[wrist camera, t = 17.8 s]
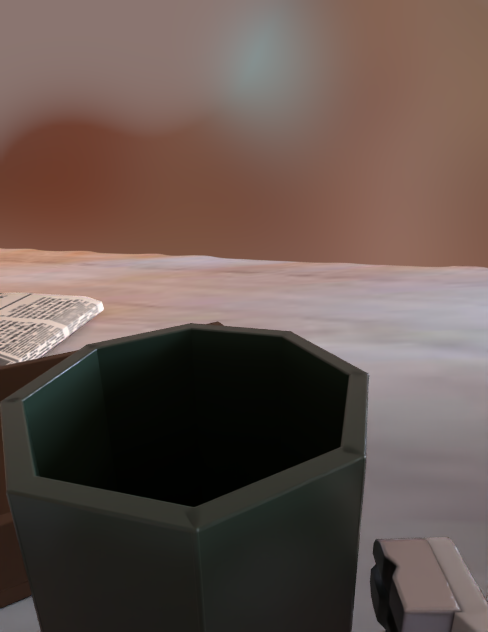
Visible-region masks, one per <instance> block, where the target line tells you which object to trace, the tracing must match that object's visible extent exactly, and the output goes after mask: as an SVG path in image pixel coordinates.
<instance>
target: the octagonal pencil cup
mask: <svg viewBox="0 0 488 632" xmlns="http://www.w3.org/2000/svg"><path fill="white" fill-rule="evenodd" d="M368 383H369V374H368V373H366V372H364V371H362V370H361V369H359V368H357V367H355V366H353V365H351V364H350V363H348V362H346V361H344V360H342V359H340V358H339V357H337V356H335V355H333V354H331V353H329V352H328V351H326V350H324V349H322V348H320V347H318V346H317V345H315V344H313V343H311V342H309V341H307V340H306V339H304V338H302V337H300V336H298V335H296V334H294V333H293V332H291V331H279V330H267V329H255V328H242V327H230V326H218V325H206V324H193V323H190V324H185V325H180V326H175V327H171V328H166V329H161V330H156V331H151V332H146V333H142V334H137V335H132V336H127V337H122V338H117V339H112V340H108V341H103V342H98V343H93V344H88V345H86V346H84V347H83V348H81V349H80V350H78V351H77V352H75V353H74V354H72V355H71V356H69V357H68V358H66V359H64V360H63V361H61V362H60V363H58V364H57V365H55V366H54V367H52V368H51V369H49V370H48V371H46V372H45V373H43V374H42V375H40V376H39V377H37V378H36V379H34V380H33V381H31V382H30V383H28V384H27V385H25V386H24V387H22V388H21V389H19V390H18V391H16V392H15V393H13V394H11V395H10V396H8V397H7V398H5V399H4V400H2V401H1V402H0V413H1V426H2V439H3V452H4V465H5V478H6V495H7V499H8V503H9V507H10V511H11V515H12V519H13V523H14V527H15V531H16V535H17V539H18V543H19V547H20V551H21V554H22V558H23V562H24V566H25V570H26V574H27V578H28V582H29V586H30V590H31V594H32V598H33V602H34V606H35V610H36V614H37V618H38V621H39V625H40V629H41V632H351V631H352V619H353V608H354V596H355V585H356V573H357V562H358V550H359V539H360V527H361V516H362V504H363V493H364V481H365V469H366V441H367V411H368Z"/></svg>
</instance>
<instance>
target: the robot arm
mask: <svg viewBox="0 0 488 632" xmlns="http://www.w3.org/2000/svg"><path fill="white" fill-rule="evenodd" d="M373 556H374V559H375V562H376V565H375V566H374V567H373V568H372V569H371V575H370V587H371V598H372V602H373V607H374V611H375V615H376V618H377V621H378V622H379V623H380V624H381V625H382V626H383V627H384V628H385V629H386V631H385V632H488V603H487V601H486V599H485V598H484V596H483V594H482V592H481V590H480V589H479V587H478V585H477V583H476V582H475V580H474V578H473V576H472V574H471V573H470V571H469V569H468V567H467V566H466V564H465V562H464V560H463V558H462V557H461V555H460V553H459V551H458V549H457V548H456V546H455V544H454V542H453V541H452V540H451V539H450V538H449V537H434V538H394V539H376V540H375V542H374V545H373Z"/></svg>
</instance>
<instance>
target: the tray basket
mask: <svg viewBox="0 0 488 632" xmlns="http://www.w3.org/2000/svg"><path fill="white" fill-rule="evenodd" d="M206 325H218V326H224V325H222V324H221V323H219V322H214V323H210V324H206ZM77 351H78V350H77ZM77 351H72V352H67V353H63V354H58V355H53V356H48V357H43V358H38V359H33V360H28V361H23V362H18V363H13V364H9V365H4V366H0V402H1V401H2V400H4V399H5V398H7V397H8V396H10V395H11V394H13V393H15V392H16V391H18V390H19V389H21V388H22V387H24V386H25V385H27V384H28V383H30V382H31V381H33V380H34V379H36V378H37V377H39V376H40V375H42V374H43V373H45V372H46V371H48V370H49V369H51V368H52V367H54V366H55V365H57V364H58V363H60V362H61V361H63V360H64V359H66V358H68V357H69V356H71V355H72V354H74V353H75V352H77ZM31 595H32V594H31V590H30V586H29V582H28V578H27V574H26V570H25V566H24V562H23V558H22V554H21V551H20V547H19V543H18V539H17V535H16V531H15V527H14V523H13V519H12V515H11V511H10V507H9V503H8V499H7V495H6V478H5V465H4V452H3V439H2V426H1V413H0V608H2V607H4V606H7V605H9V604H12V603H14V602H16V601H19V600H21V599H24V598H26V597H28V596H31Z"/></svg>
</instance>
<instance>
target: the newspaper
mask: <svg viewBox="0 0 488 632" xmlns="http://www.w3.org/2000/svg"><path fill="white" fill-rule="evenodd" d="M102 310H104V308H103V305H102V302H101V301H98V300H95V299H92V298H89V297H85V296H69V295H53V294H37V293H21V292H16V293H0V366H4V365H9V364H13V363H18V362H23V361H28V360H33V359H38V358H40V357H42V356H43V355H44V354H46V353H47V352H48V351H50V350H51V349H52V348H54V347H55V346H56V345H58V344H59V343H60V342H62V341H63V340H64V339H66V338H67V337H68V336H70V335H71V334H72V333H74V332H75V331H76V330H78V329H79V328H80V327H82V326H83V325H84V324H86V323H87V322H88V321H90V320H91V319H92V318H94V317H95V316H96V315H98V314H99V313H100V312H101V311H102Z"/></svg>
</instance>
